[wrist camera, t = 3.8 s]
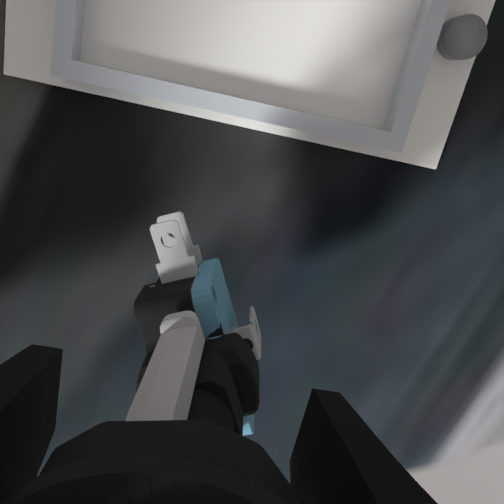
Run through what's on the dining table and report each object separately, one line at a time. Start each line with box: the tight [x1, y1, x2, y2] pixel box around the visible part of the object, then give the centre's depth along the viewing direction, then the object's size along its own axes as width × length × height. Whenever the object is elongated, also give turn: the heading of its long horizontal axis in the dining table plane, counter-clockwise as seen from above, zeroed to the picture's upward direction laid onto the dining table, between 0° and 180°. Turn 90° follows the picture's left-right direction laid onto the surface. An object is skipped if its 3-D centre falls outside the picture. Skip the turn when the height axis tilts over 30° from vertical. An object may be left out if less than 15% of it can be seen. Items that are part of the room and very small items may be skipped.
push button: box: [2, 211, 305, 504], centre depth 10 cm, size 7×5×10 cm
